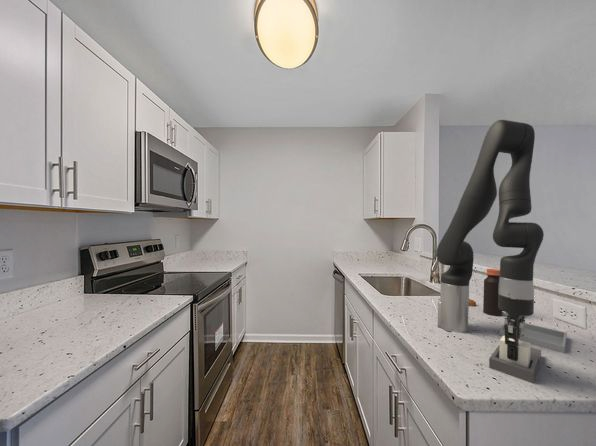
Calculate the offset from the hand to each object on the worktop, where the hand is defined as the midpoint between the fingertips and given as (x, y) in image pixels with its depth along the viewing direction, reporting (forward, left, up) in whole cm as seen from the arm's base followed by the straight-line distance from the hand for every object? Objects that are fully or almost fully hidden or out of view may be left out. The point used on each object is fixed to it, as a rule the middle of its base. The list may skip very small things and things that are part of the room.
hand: (514, 356), depth 71 cm
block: (0, 0, -2) cm, 2 cm away
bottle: (-14, +48, -4) cm, 50 cm away
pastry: (-28, +56, -4) cm, 63 cm away
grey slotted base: (0, +4, -3) cm, 5 cm away
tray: (+1, +30, -3) cm, 30 cm away
